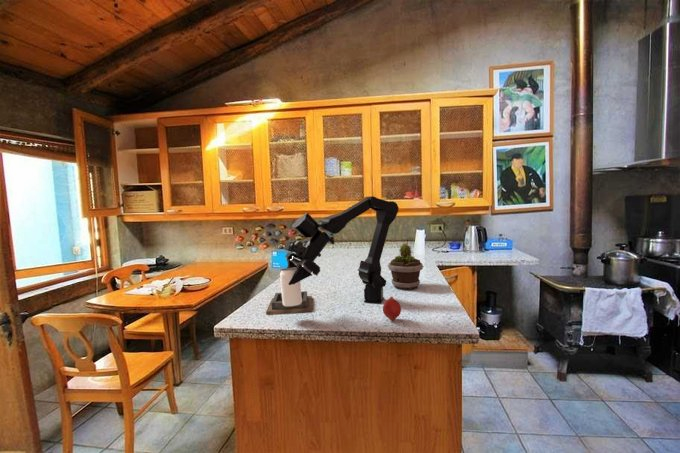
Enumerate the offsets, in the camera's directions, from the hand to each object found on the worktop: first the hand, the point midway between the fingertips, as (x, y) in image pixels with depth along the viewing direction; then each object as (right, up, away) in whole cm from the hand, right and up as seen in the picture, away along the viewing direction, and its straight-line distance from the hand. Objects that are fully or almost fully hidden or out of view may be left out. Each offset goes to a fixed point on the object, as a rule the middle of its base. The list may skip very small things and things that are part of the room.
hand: (286, 283), depth 110 cm
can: (+2, -7, 0) cm, 8 cm away
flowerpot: (+47, -8, +35) cm, 59 cm away
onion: (+35, -12, -3) cm, 37 cm away
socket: (-1, -11, +16) cm, 19 cm away
